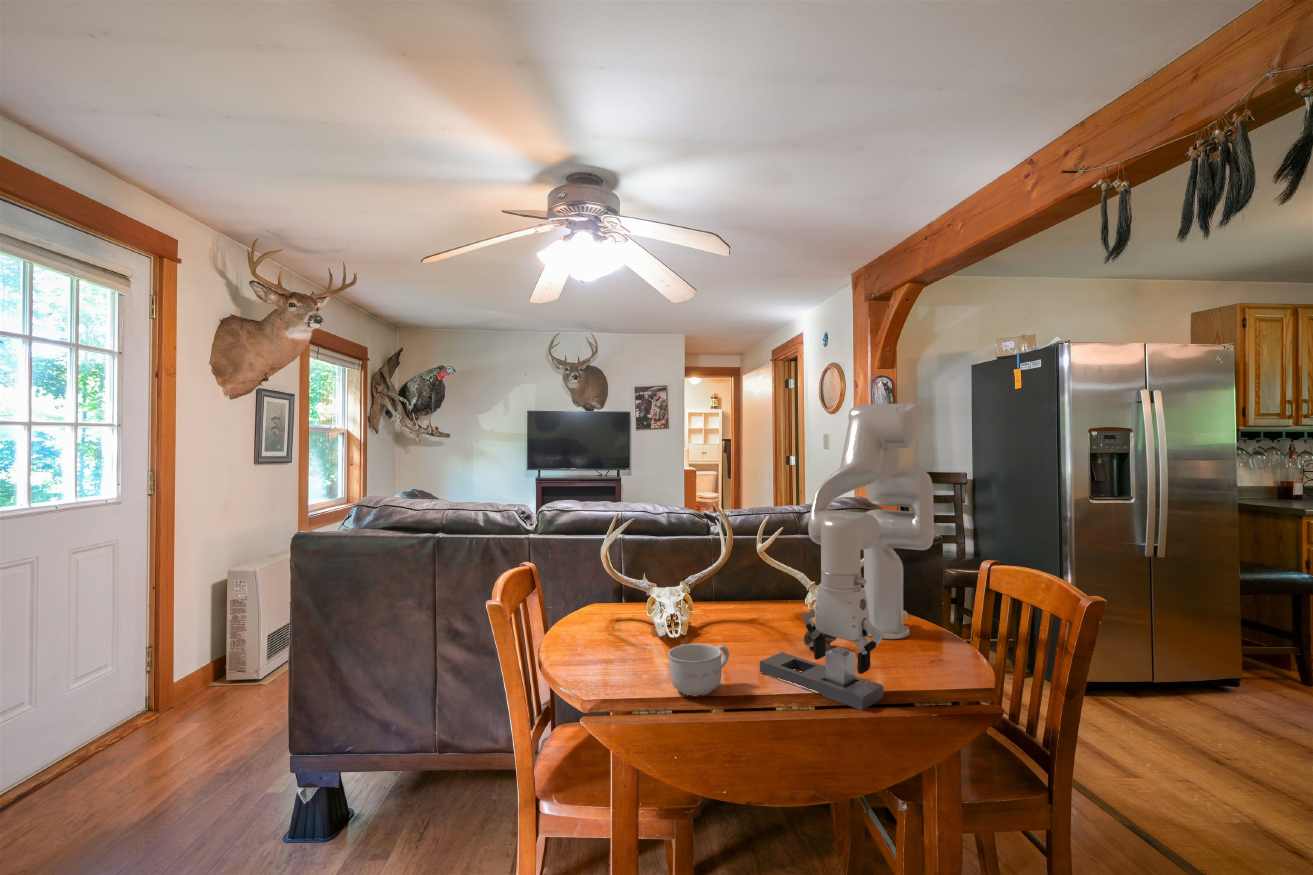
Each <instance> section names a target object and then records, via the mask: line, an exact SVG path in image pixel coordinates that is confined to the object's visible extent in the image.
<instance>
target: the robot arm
mask: <svg viewBox="0 0 1313 875" xmlns="http://www.w3.org/2000/svg"><path fill="white" fill-rule="evenodd" d="M847 418H848V424H847V430H846V435H845V439H844V440H845V441H844V446H843V449H842V450H843V452H842V456H841V462H840V466H839V467H838V469H837V470H835V471H833V473H831V474H830V475H828V477H827V478H826V479H825V480H824V481H823V482H821V484H820V485H819V487H818V488H817V489H816V491H815V493H814V496H813V499H812V503H811V508H810V513H809V516H808V526H807V530H808V535H809V538H810V540H811V541H812V542H814V543H815V544H818V545H820V573H821V574H820V579H821V580H820V583H819V584H818V585H817V586H818V588H817V591H816V597H815V605H814V610H811V611H807V612H805V613H803V614H802V619H803V622H804V624H805V628H806V630H807V631H809V632H810V634H811V638H812V639H813V647H812V648H813V656H814V657H813V659H814V660H816V661H817V660H820V659H822V658H825V652H826V644H825V637H824V636H823V635H824V634H827V635H830V636H834V637H837V638H838V639H842V640H845V641H849V642H852V643H853V642H854V644H855V645H856V647H857V649H858V650H859V652H858V653H857V673H858V674H860V675H863V674H864V673H866V672H868V671H869V670H870V669H871V652H872V651H873V650H875V648H877V647H878V646H879V645H880V642H881V641H882V639H883V640H885V639H886V640H898V639H899V640H900V639H904V638H906V637H909V636H910V628H909V627H908V626H907V625H904V619H907V618H908V616H909V614H908V612H907V610H904V565H903V561H902V560H901V558H900V556H899V555H898V554H897V553H896V551H895V549H904V550H915V551H926V550H928V549H930V548H931V547H932V545H933V543H934V539H935V538H934V537H935V524H934V523H935V521H934V520H935V519H934V518H935V516H934V513H935V512H934V486H933V481H932V478H931V476H930V474H929V473H928V472H926V470H922V469H917V468H916V469H914V468H913V469H912V468H911V469H909V468H908V469H907V468H902V467H901V462H900V461H901V457H900V456H901V453H900V452H901V451H900V449H908V448H911V447H913V445H915V443H916V442H917V440H918V439H919V438H920V436H921V435H922V432H923V431H924V430H923V429H924V427H925V414H924V411H923V409H922V408H921V406H920V405H919V404H917V403H909V402H908V403H907V402H904V403H903V402H902V403H901V402H900V403H867V404H866V403H864V404H858V405H855V406H853V407H851V408H850V409H849V411H848V417H847ZM863 487H865V495H866V499H867V500H868V502H870V504H871V503H872V504H874V505H879V506H885V507H886V506H888V507H903V508H904V507H905V508H910V509H911V510H912V511H909V510H908V511H906V510H897V509H895V510H894V509H883V508H881V509H878V508H877V509H871V510H868V511H865V512H858V511H848V510H845V511H844V510H835V509H829V508H830V506H831V504H832V503H833V502H834V501H835V500H836V499H837V498H839V497H840V496H842V495H844V494H847V493H849V492H851V491H855V490H858V489H860V488H863ZM862 550H863V577H862V573H861V571H862V570H861V567H862V566H861V563H862V562H861V551H862ZM862 586H863V587H862ZM813 619H814V621H813ZM868 637H872V638H871V640H869V639H868Z"/></svg>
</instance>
